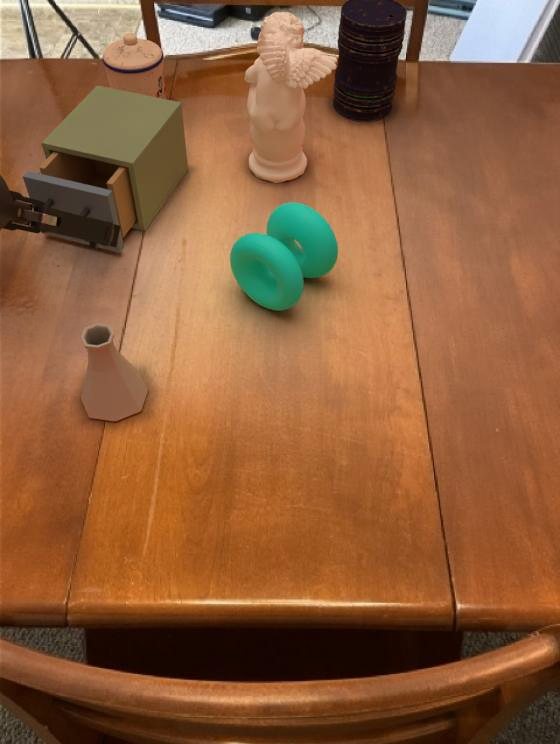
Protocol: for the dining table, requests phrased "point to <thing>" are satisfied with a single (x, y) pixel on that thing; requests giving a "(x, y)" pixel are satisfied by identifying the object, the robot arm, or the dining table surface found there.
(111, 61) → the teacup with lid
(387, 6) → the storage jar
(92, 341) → the flask
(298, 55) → the cherub figurine
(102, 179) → the drawer
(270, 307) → the green rounded spool
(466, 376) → the dining table surface
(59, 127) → the cabinet
